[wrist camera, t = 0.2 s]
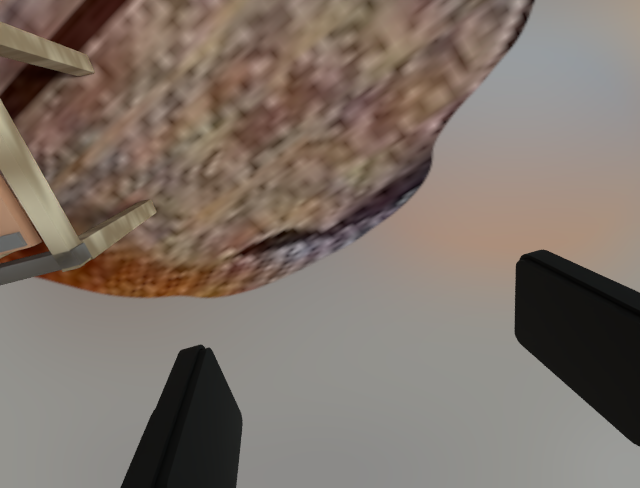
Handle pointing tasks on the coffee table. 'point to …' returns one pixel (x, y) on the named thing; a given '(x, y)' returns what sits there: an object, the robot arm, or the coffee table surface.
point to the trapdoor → (14, 223)
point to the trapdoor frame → (31, 186)
